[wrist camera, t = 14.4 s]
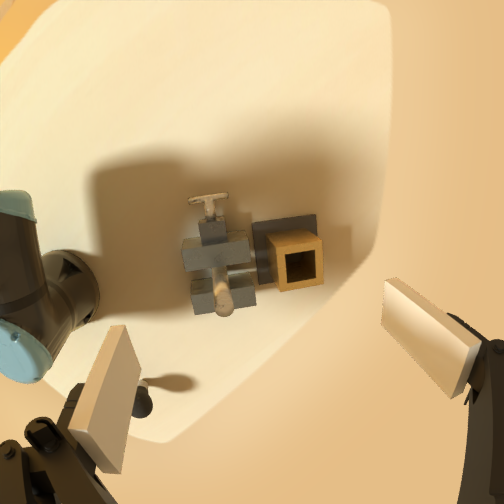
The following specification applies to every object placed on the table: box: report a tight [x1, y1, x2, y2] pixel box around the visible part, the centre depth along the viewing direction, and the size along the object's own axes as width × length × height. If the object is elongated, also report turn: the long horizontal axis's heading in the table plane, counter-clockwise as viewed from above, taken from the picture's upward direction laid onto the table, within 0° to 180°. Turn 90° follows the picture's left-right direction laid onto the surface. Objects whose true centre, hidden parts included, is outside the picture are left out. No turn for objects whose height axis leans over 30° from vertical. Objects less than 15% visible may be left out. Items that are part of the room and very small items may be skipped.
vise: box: [181, 192, 256, 317], centre depth 43 cm, size 10×18×16 cm, turn 6°
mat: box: [252, 214, 317, 285], centre depth 52 cm, size 11×11×1 cm
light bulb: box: [131, 380, 153, 418], centre depth 52 cm, size 6×6×10 cm
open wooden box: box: [265, 228, 324, 292], centre depth 48 cm, size 7×7×8 cm
